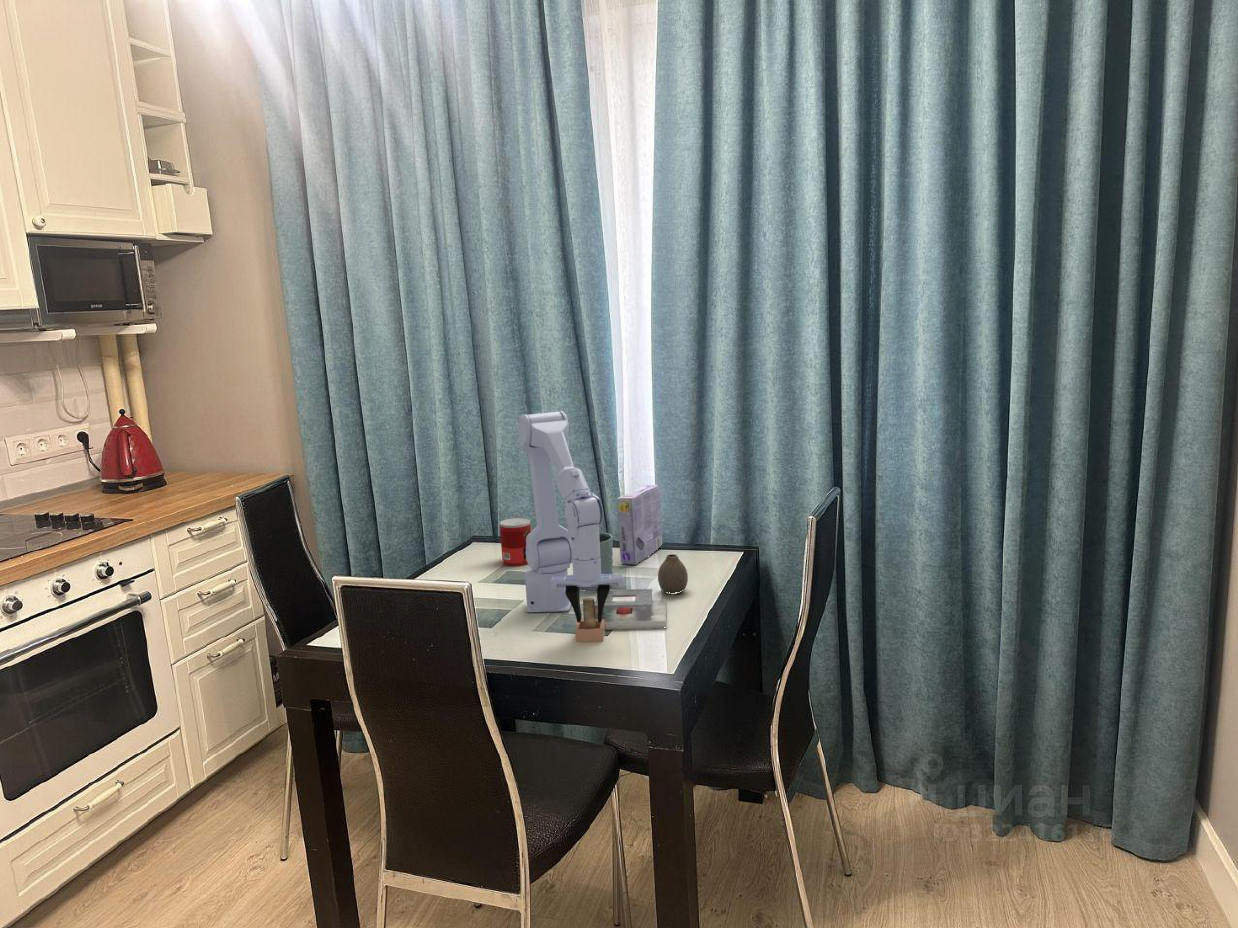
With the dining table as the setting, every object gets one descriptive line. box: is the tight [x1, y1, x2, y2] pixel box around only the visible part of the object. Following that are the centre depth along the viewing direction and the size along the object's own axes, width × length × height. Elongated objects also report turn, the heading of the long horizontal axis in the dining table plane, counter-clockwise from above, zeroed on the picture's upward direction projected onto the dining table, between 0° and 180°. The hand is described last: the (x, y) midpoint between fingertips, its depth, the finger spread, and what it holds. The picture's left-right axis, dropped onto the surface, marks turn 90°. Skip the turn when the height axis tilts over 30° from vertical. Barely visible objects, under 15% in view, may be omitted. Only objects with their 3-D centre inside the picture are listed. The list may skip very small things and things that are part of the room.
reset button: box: [618, 607, 631, 614], centre depth 196 cm, size 3×3×2 cm
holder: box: [574, 620, 606, 643], centre depth 187 cm, size 6×6×2 cm
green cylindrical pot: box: [580, 531, 614, 592], centre depth 218 cm, size 10×10×12 cm
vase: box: [657, 553, 689, 593], centre depth 211 cm, size 7×7×9 cm
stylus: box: [582, 597, 596, 629], centre depth 186 cm, size 2×2×8 cm
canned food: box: [499, 517, 532, 567], centre depth 240 cm, size 8×8×11 cm
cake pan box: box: [616, 484, 664, 566], centre depth 240 cm, size 19×5×18 cm, turn 154°
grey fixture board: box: [581, 588, 668, 631], centre depth 196 cm, size 18×13×4 cm
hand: (589, 620), depth 186 cm, fingers open, 4 cm apart
